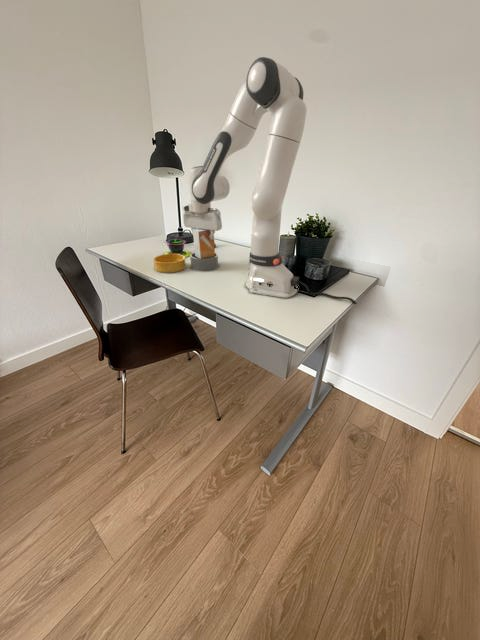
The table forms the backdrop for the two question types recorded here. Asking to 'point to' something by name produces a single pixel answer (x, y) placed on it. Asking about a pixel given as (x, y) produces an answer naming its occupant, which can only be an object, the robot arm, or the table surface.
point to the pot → (204, 263)
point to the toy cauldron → (177, 247)
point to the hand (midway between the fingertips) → (203, 238)
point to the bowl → (169, 263)
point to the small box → (203, 243)
